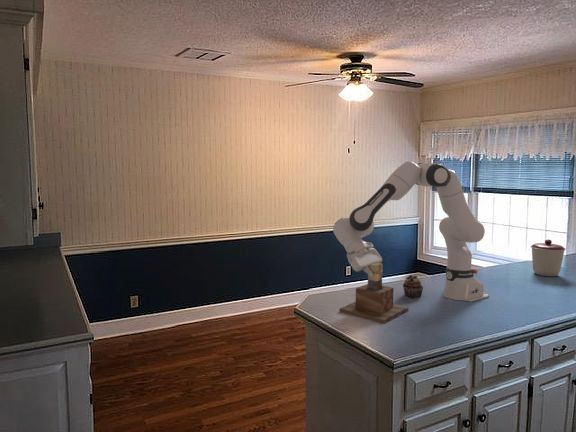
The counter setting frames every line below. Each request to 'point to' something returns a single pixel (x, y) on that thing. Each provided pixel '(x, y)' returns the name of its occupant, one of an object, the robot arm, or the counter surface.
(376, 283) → the rail end
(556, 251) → the canister
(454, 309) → the counter surface
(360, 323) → the counter surface
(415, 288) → the cupcake
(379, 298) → the post block
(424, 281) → the counter surface
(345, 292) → the counter surface
